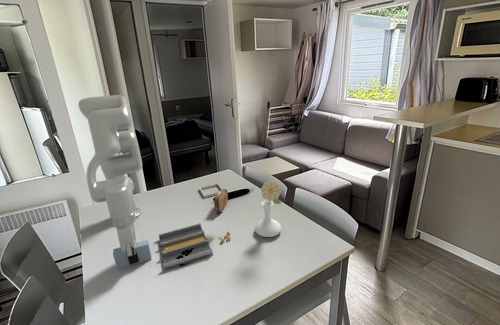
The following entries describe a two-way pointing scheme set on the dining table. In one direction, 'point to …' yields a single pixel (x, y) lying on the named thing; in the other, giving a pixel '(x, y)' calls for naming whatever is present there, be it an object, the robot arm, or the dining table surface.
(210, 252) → the rack
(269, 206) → the flower in vase
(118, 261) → the blue-grey rectangular block
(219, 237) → the dice set
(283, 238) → the dining table surface
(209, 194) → the beige square frame
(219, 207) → the tin
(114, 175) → the robot arm
